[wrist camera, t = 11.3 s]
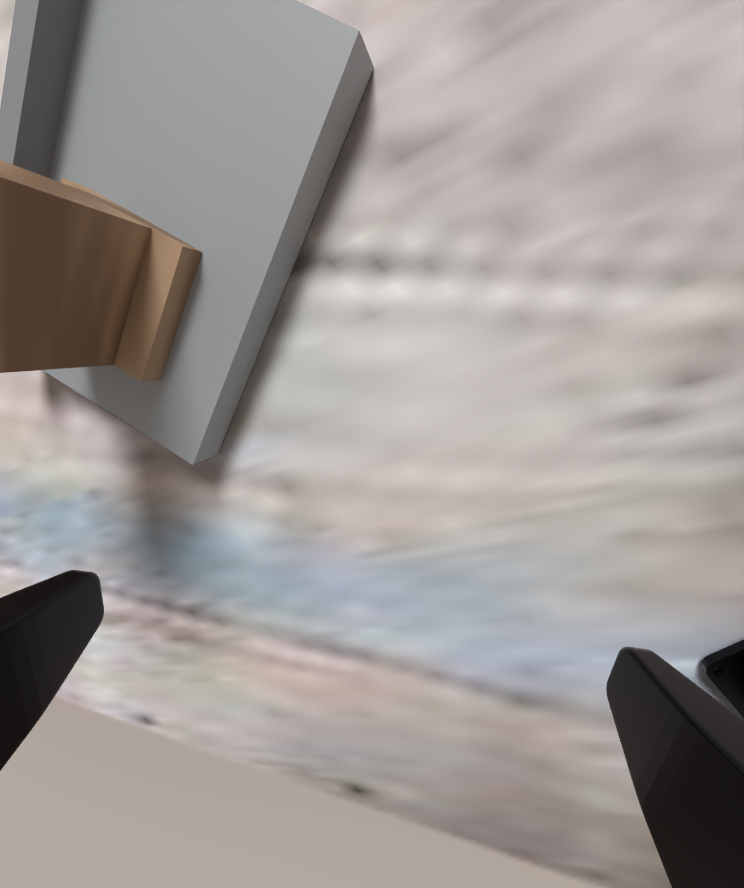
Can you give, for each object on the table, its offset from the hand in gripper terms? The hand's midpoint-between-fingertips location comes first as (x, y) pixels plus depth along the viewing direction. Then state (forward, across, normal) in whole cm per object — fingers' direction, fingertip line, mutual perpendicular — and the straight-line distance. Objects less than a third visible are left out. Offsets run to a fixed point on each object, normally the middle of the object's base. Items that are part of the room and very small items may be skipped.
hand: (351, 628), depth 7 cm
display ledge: (+15, +11, -7) cm, 20 cm away
